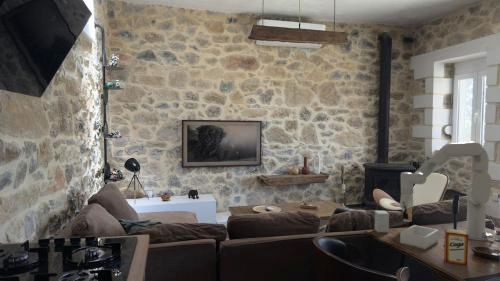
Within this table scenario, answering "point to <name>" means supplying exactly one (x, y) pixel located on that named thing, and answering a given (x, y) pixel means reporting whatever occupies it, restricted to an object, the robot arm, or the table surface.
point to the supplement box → (381, 221)
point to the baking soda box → (456, 246)
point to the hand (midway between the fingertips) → (407, 217)
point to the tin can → (408, 215)
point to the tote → (419, 237)
